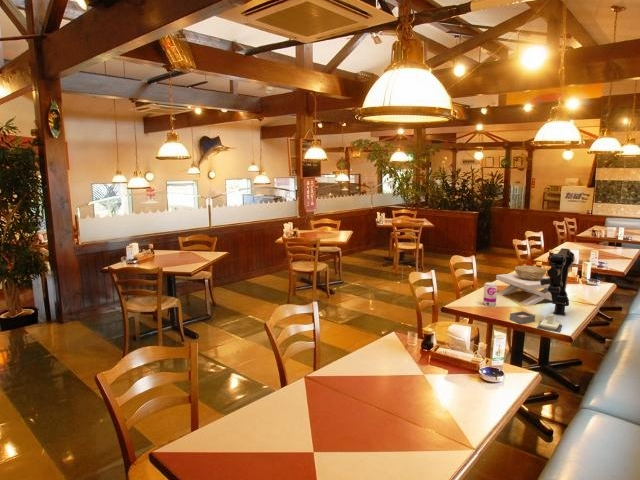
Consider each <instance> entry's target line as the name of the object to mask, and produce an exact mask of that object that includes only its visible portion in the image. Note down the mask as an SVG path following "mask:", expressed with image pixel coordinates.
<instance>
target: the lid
mask: <svg viewBox="0 0 640 480" xmlns="http://www.w3.org/2000/svg"><path fill="white" fill-rule="evenodd" d="M554 315H555V314H551V313H550V314H549V313H548V315H547V319H546V318H545V319H542V320H541V321H542V322H541V323H540V322H539V323H540V326H541V327H542V328H547V329H553V330H556V329H557V328H558V327H559V325H561V321H557V320H556V321H555V320H554Z"/></svg>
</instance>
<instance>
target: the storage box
mask: <svg viewBox="0 0 640 480" xmlns="http://www.w3.org/2000/svg"><path fill="white" fill-rule="evenodd" d="M509 320H510V321H512V322H515V323H517V324H520V325H524V324H529V323H534V322H535V321H536V315H535V314H532V313H530V312H526V311H524V310H522V311H516V312H515V311H514V312H511V313H509Z"/></svg>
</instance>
